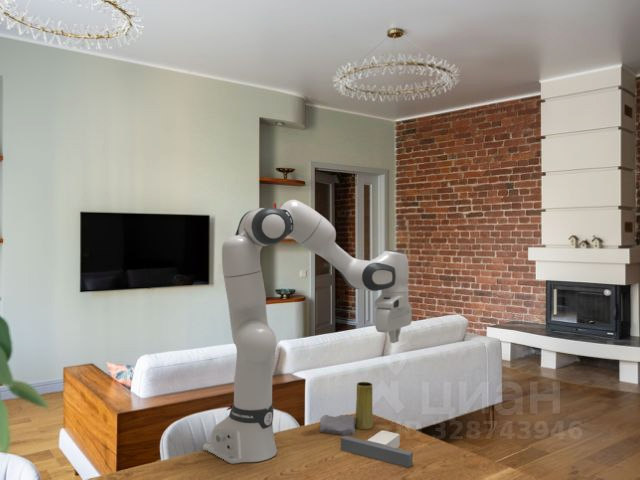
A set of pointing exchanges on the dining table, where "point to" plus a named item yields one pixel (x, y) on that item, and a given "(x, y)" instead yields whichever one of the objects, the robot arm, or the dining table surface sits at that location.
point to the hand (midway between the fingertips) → (394, 342)
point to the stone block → (338, 424)
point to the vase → (364, 406)
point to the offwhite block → (386, 439)
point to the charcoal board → (377, 451)
